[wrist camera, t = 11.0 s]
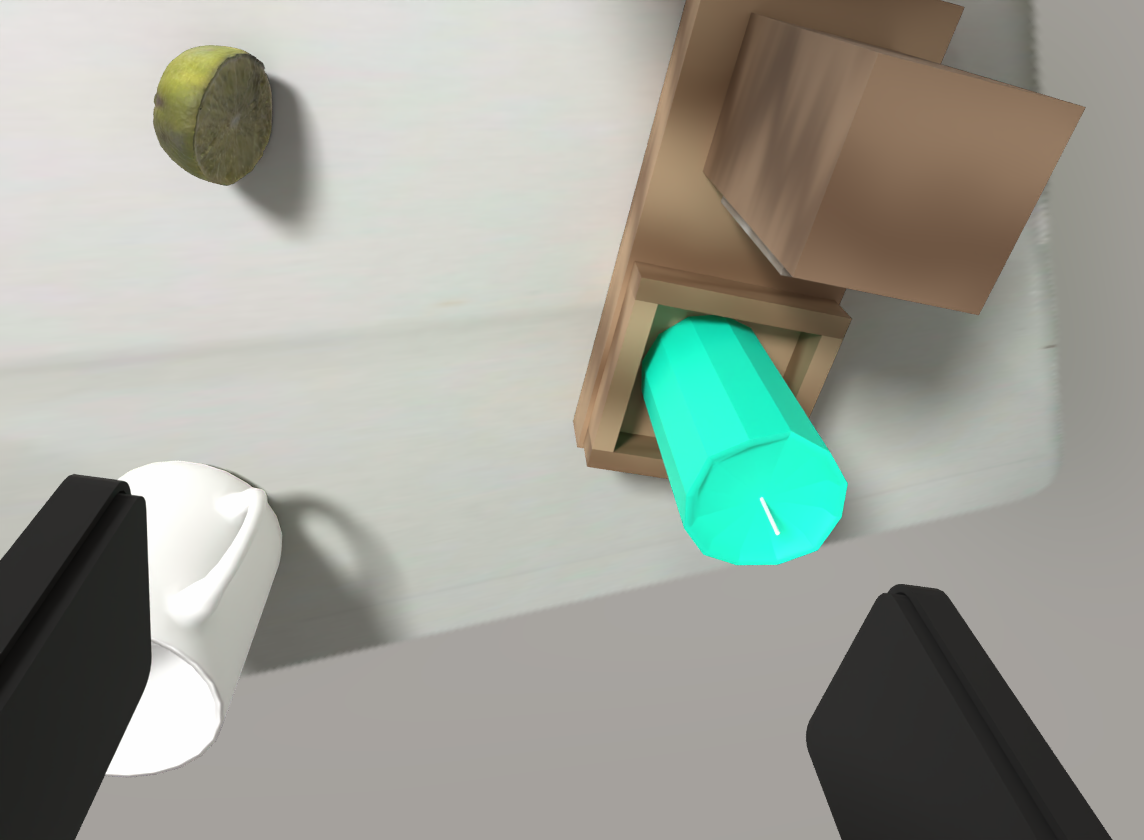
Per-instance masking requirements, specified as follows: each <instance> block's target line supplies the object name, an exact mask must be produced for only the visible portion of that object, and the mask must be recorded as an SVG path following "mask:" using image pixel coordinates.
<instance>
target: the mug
mask: <svg viewBox="0 0 1144 840" xmlns="http://www.w3.org/2000/svg"><path fill="white" fill-rule="evenodd" d="M117 480H122V481H125V482H127V483H128V484H129V486H130V490H131V495H138V496H143V497H144V498H145V501H146V509H147V537H148V566H149V595H150V623H151V652H152V662H151V670H150V674H149V678H148V682H147V685H146V688H145V690H144V693H143V695H142V697H141V699H140V701H139V703H138V705H137V708H136V710H135V712H134V714H133V716H132V718H131V720H130V723H129V725H128V727H127V729H126V731H125V733H124V735H123V738H122V740H121V742H120V744H119V746H118V748H117V750H116V753H115V755H114V757H113V759H112V761H111V763H110V765H109V768H108V770H107V772H106V774H105V776H112V777H137V776H147V775H156V774H160V773H163V772H167V771H170V770H173V769H177V768H180V767H182V766H184V765H186V764H188V763H189V762H191V761H193V760H195V759H196V758H198V757H200V756H202V755H203V754H204V753H205V752H206V751H207V750H208V749H209V748H210V746H212V745H213V743H214V742H216V740H217V738H218V735H219V733H220V731H221V728H222V726H223V723H224V721H225V718H226V715H227V712H228V709H229V706H230V704H231V701H232V698H233V695H234V692H235V689H236V686H237V684H238V681H239V678H240V675H241V672H242V669H243V666H244V664H245V661H246V658H247V655H248V652H249V649H250V646H251V644H252V641H253V638H254V635H255V632H256V629H257V626H258V623H259V621H260V618H261V615H262V612H263V609H264V606H265V603H266V601H267V598H268V595H269V592H270V589H271V586H272V583H273V581H274V578H275V575H276V572H277V569H278V566H279V563H280V557H281V552H282V532H281V528H280V525H279V522H278V519H277V516H276V514H275V513H274V511H273V510H272V508H271V507H270V505H269V504H268V502H267V495H266V493H265V491H264V490H262V489H258V488H253V487H251V486H250V485H249V484H248V483H246V482H244V481H243V480H241V479H239V478H237V477H236V476H234V475H232V474H230V473H229V472H227V471H224V470H221V469H218V468H215V467H212V466H208V465H205V464H202V463H194V462H186V461H166V462H155V463H151V464H148V465H145V466H142V467H139V468H136V469H133V470H130V471H129V472H128V473H126V474H125V475H123V476H122V477H120V478H119V479H117Z"/></svg>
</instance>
